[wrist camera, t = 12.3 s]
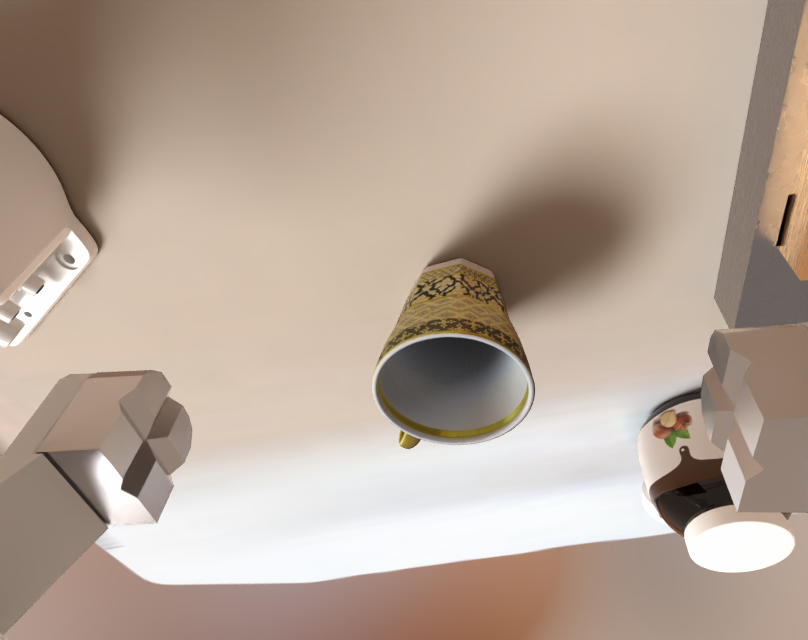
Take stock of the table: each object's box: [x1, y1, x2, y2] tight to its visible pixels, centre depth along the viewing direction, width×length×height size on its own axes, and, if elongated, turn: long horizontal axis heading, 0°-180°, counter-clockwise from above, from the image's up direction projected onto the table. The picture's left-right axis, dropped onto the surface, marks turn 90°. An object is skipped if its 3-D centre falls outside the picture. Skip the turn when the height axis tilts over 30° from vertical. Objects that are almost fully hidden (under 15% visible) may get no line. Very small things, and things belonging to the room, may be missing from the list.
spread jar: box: [637, 392, 795, 572], centre depth 48 cm, size 12×11×12 cm
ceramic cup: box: [372, 258, 535, 449], centre depth 42 cm, size 13×10×10 cm
